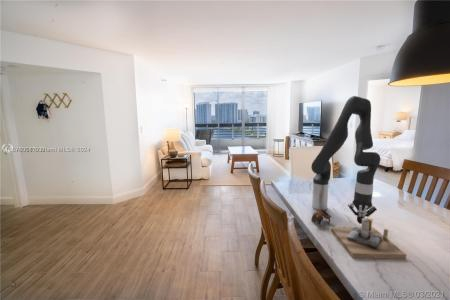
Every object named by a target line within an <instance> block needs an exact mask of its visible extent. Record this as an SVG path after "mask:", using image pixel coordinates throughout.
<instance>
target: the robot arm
mask: <svg viewBox="0 0 450 300" xmlns="http://www.w3.org/2000/svg"><path fill="white" fill-rule="evenodd" d="M371 103H372V102H371V101H370V100H369V99H367V98H364V97H361V96H356V95H353V96H350V97H348V99H347V100H346V101H345V104H344V106H343V108H342V111H341V113H340V114H339V117H338V119H337V121H336V123H335V125H334V127H333V129H332V130H331V131H330V133H329V135H328V136H327V138H326V140H325V143H324V144H323V146H322V148H321V149H320V151H319V153H318V154H317V155H316V157H315V159H314V160H313V161H312V163H311V165H310V166H311V171H312V172H313V173H314V174H315V176H314V177H313V180H312V202H311V207H312V208H313V209H314V210H316V211H319V209H321V210H323V211H326V210H327V209H328V202H329V201H328V200H329V198H328V197H329V181H330V180H331V174H332V173H331V171H332V165H331V161H330V159H331V158H332V157H333V156H334V155H336V153H337V152H338V151H339V150H340V149H341V148H342V147H343V145H344V144H345V142H346V140H347V139H348V137H349V130H348V129H349V128H348V125H349V121H350V119H351V116H352V115H356V116H358V118H359V125H358V126H357V128H356V130H355V133H354V138H355V152H354V153H355V154H354V157H353V158H354V159H353V160H354V161H353V162H354V163H355V165H356V166H358V167H366V169H360V170H358V171H357V172H356V179H355V180H356V181H355V183H354V184H355V186H354V194H353V200H352V203H348V204H347V207H348V208H349V209H350V210H351V212H352V213H353V214H354V216H356V222H357V224H360V225H362V218H370V216H371V215H372V214H374V213H375V212H376V211H377V210H378V209H377V207H376V206H374V205H373V202H372V201H373V194H374V193H373V192H374V179H375V175H376V172H377V169H378V168H379V166H380V163H381V155H380V154H379V153H378V152H375V151H374V152H373V151H372V152H371V151H366V150H370V149H372V148H373V147H374V142H373V135H372V129H371V127H372V125H371V121H372V104H371ZM355 208H356V210H355Z"/></svg>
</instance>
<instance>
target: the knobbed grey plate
mask: <svg viewBox="0 0 450 300" xmlns="http://www.w3.org/2000/svg"><path fill="white" fill-rule="evenodd" d="M365 218H366V219H369V220H370V222H369V234H368V238H370V239H369V240H367V239H364V238H361V237H359V236H360V235H361V229H358V228H353V229H352V231H351V232H350V234H349V235H348V237H347V239H348V240H351V241H354V242H357V243H360V244H363V245H366V246H369V247H371V248H374V249H377V247H378V245H379V242H380V240H381V236H380V235H377V234H374V233H371V232H370V231H371V230H372V227H373V220H374V218H370V217H365Z"/></svg>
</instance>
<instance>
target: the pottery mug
mask: <svg viewBox="0 0 450 300" xmlns="http://www.w3.org/2000/svg"><path fill="white" fill-rule="evenodd" d="M331 217H332V216H331V215H330V214H328V213H327V212H326V210H321V209H319V210H316V211H314V213H313V214H312V215H311V219H310V220H311V222H312V223H313V224H314V225H315V224H317V225H320V224H321V223H322V221H324V219H326V220H328V222H327V223H328V225H330V223H331Z"/></svg>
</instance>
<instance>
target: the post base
mask: <svg viewBox="0 0 450 300" xmlns="http://www.w3.org/2000/svg"><path fill="white" fill-rule="evenodd" d="M366 218H367V217H364V218H362V224H361V227H360V226H359V227H358V226H357V227H355V226H340V227H339V226H331V227H330V232H331V233H332V234H333V236H334V237H335V238H336V240H337V241H338V242H339V243H340V244H341V246H342V247H343V248H344V249H345V250H346V252H347V253H348V254H349V255H350V256H351V258H352V259H354V258H355V259H396V260H397V259H400V260H401V259H402V260H403V259H406V258H407V254H406V252H405V251H403V250H401V249H400V248H399V247H398V246H397V245H395V243H393V242H392V241H391V240H390V239H388V236H389V234H388V233H389V229H387V228H384V229H383V233H381V232H380V231H379V230H378V229H376V228H375V227H374V226H372V230H371V231H370V232H371V233H374V234H377V235H380V236H381V240H380V242H379V245H378V247H377V249H374V248H371V247H369V246H366V245H363V244H360V243H357V242H354V241H351V240H348V239H347V237H348V235H349V234H350V232H351V231H352V229H353V228H358V229H361V235H360V236H359V237H361V238H364V239H367V240H369V239H370V238H368V234H369V222H370V220H369V219H366Z"/></svg>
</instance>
